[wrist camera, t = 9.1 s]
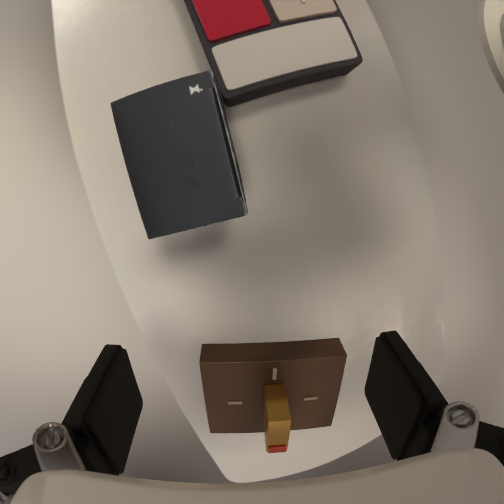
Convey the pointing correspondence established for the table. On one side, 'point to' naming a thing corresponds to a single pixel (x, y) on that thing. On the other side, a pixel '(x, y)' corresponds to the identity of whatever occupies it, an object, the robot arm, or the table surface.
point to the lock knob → (276, 418)
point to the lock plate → (271, 382)
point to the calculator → (272, 44)
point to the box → (180, 155)
